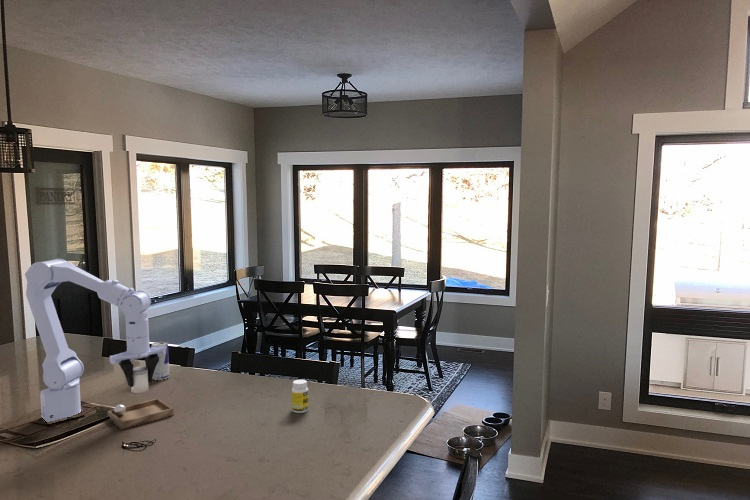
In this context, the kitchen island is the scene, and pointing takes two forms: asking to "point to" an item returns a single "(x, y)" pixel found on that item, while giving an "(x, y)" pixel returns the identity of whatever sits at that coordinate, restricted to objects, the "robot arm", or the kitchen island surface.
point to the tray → (141, 413)
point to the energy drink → (161, 363)
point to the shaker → (140, 380)
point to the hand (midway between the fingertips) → (140, 383)
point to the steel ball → (120, 410)
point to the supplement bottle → (300, 396)
